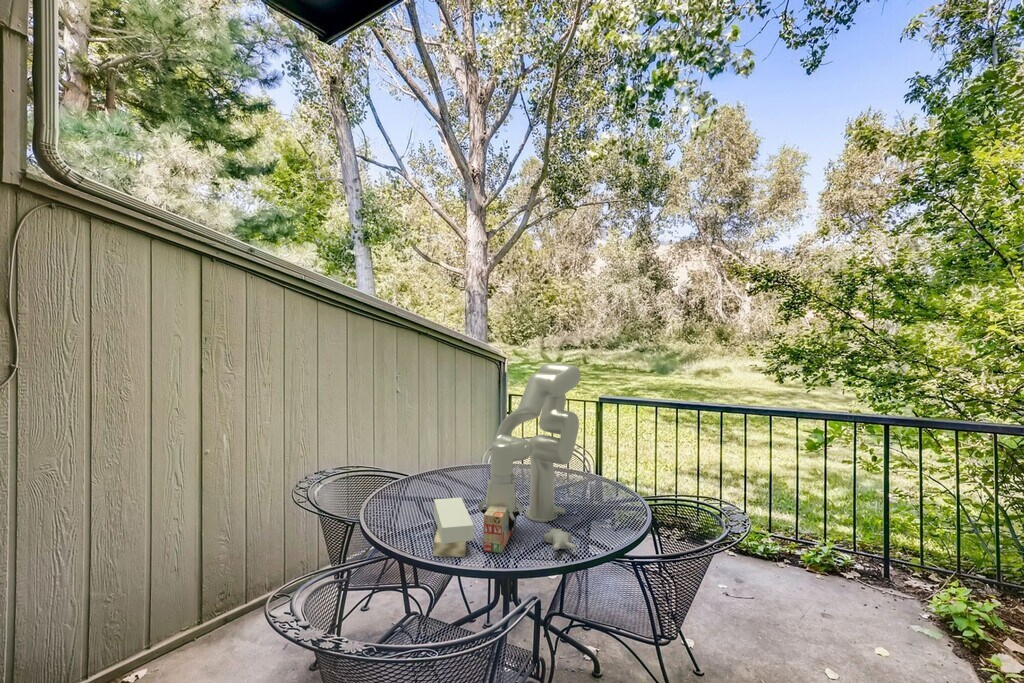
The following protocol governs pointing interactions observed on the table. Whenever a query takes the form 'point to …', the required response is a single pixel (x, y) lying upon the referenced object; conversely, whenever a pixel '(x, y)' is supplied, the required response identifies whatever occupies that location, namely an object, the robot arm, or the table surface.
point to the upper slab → (453, 520)
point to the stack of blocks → (496, 528)
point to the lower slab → (448, 548)
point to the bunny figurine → (559, 539)
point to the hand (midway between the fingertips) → (500, 528)
